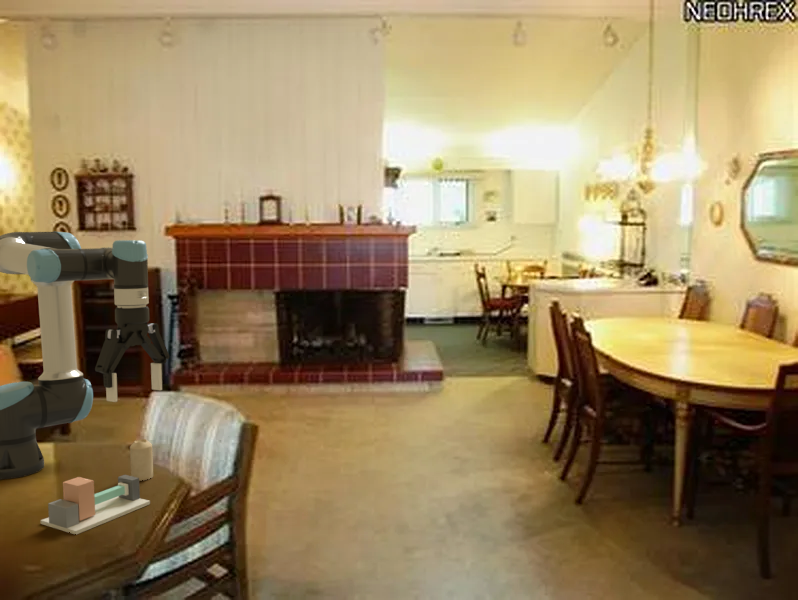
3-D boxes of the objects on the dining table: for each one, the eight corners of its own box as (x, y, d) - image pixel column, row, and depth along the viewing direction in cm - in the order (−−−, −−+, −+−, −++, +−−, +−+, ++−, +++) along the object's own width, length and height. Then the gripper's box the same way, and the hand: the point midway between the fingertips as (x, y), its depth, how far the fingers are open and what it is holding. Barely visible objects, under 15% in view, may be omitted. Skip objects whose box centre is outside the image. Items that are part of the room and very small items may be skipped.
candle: (148, 481, 187) (147, 443, 186) (127, 481, 187) (126, 443, 187) (156, 474, 193) (155, 437, 192) (135, 474, 193) (134, 437, 192)
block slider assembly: (40, 523, 160) (39, 498, 159) (115, 495, 177) (115, 472, 177) (75, 534, 154) (74, 508, 153) (150, 504, 171) (149, 480, 171)
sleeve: (64, 516, 161) (62, 482, 160) (80, 510, 165) (78, 476, 164) (79, 520, 159) (78, 486, 158) (95, 514, 162) (93, 480, 161)
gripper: (99, 312, 156) (103, 408, 158) (182, 302, 178) (185, 386, 180) (75, 310, 160) (79, 404, 162) (160, 300, 182) (162, 383, 184)
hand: (135, 395), depth 171 cm, fingers open, 13 cm apart
